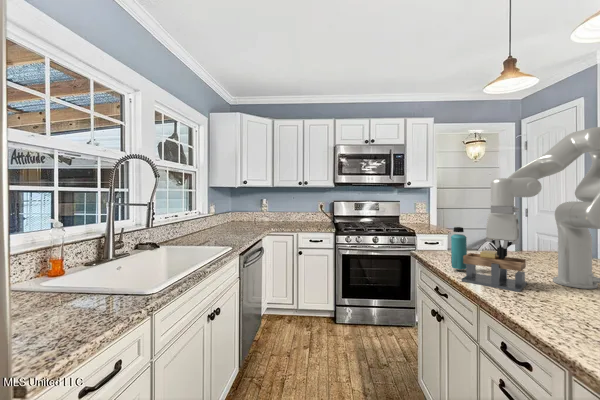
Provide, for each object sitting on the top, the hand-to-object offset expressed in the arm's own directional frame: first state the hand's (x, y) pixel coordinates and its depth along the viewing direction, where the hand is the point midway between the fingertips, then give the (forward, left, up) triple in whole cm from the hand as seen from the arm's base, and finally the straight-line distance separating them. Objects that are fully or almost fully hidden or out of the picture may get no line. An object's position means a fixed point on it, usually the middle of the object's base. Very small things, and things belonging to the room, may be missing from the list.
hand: (501, 258), depth 113 cm
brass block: (+4, 0, -1) cm, 5 cm away
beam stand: (+3, 0, -10) cm, 11 cm away
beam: (+3, 0, -3) cm, 4 cm away
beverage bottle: (+19, -10, -11) cm, 24 cm away
